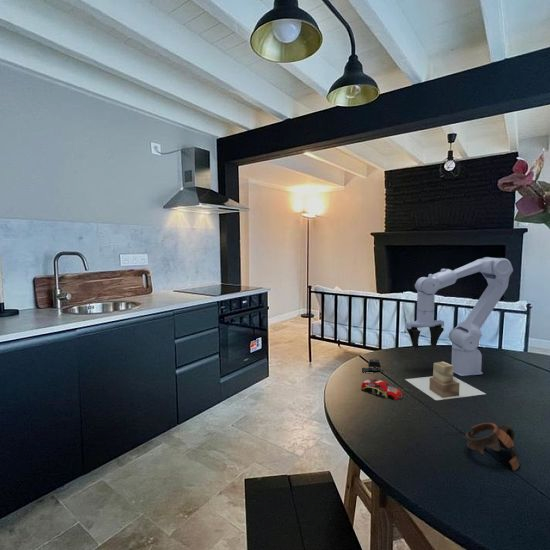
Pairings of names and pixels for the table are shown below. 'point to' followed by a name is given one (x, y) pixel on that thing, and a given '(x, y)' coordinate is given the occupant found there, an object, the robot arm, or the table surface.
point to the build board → (463, 392)
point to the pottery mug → (494, 440)
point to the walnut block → (444, 388)
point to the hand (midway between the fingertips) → (424, 346)
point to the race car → (381, 389)
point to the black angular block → (373, 364)
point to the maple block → (443, 372)
